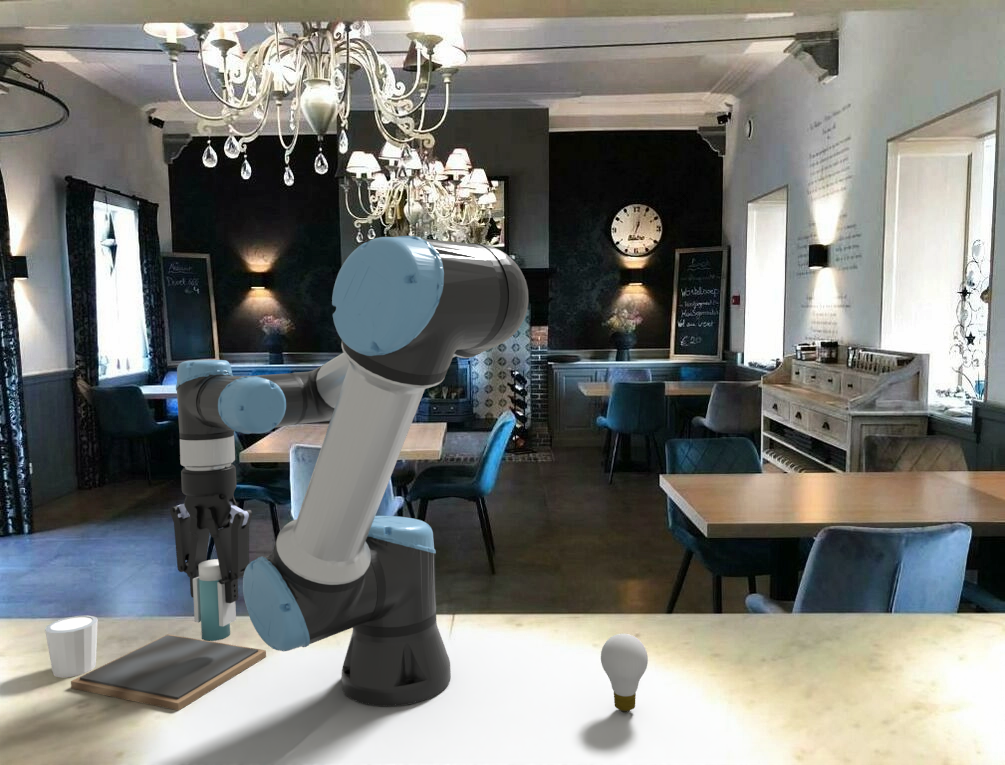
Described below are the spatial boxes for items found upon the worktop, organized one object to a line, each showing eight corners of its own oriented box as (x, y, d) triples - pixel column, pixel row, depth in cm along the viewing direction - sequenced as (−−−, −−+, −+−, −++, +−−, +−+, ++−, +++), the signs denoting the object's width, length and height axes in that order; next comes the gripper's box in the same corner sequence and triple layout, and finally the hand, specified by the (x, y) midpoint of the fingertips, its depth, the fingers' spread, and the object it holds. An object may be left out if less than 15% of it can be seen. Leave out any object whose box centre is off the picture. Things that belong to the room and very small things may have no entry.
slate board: (266, 656, 118) (265, 648, 118) (178, 710, 102) (178, 700, 102) (167, 640, 125) (167, 632, 125) (71, 688, 109) (70, 679, 109)
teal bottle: (236, 632, 116) (233, 560, 116) (217, 642, 113) (213, 568, 112) (215, 628, 118) (211, 558, 117) (195, 638, 114) (192, 565, 113)
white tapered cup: (77, 680, 111) (74, 633, 111) (36, 677, 113) (33, 630, 112) (110, 660, 118) (108, 615, 118) (71, 657, 119) (68, 613, 119)
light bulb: (637, 727, 95) (636, 648, 94) (593, 716, 98) (592, 638, 97) (655, 707, 100) (654, 631, 99) (613, 696, 103) (611, 623, 102)
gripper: (272, 464, 114) (278, 619, 115) (182, 458, 120) (189, 605, 122) (237, 473, 107) (244, 638, 109) (144, 466, 113) (152, 622, 115)
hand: (215, 620), depth 115 cm, fingers closed on teal bottle, 4 cm apart
